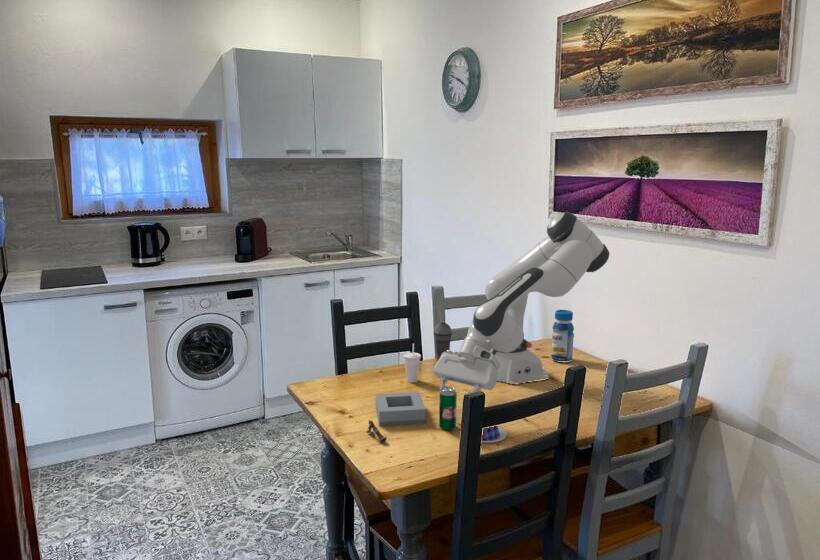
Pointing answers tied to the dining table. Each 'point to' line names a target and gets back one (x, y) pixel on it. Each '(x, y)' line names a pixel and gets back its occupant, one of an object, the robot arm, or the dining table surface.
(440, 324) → the beverage cup
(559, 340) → the beverage bottle
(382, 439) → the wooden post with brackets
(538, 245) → the robot arm
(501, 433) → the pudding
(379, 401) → the block
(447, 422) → the soda can
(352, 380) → the dining table surface
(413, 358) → the smoothie
